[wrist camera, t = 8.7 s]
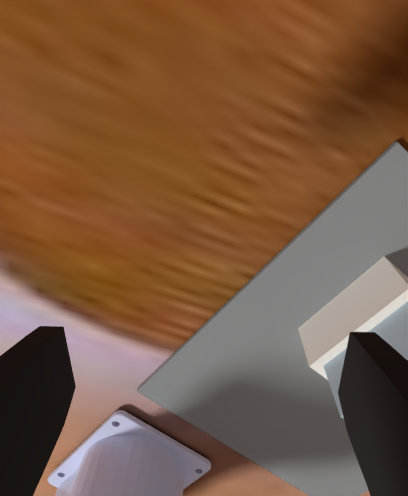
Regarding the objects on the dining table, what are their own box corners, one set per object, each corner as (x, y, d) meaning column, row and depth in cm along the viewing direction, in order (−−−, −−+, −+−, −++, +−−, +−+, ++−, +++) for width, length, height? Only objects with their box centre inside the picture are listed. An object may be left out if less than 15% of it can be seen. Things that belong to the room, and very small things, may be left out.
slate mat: (332, 506, 29) (333, 510, 29) (137, 387, 25) (137, 391, 24) (599, 349, 22) (604, 353, 22) (395, 140, 17) (397, 142, 17)
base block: (368, 381, 23) (388, 423, 21) (297, 328, 22) (309, 366, 19) (455, 320, 21) (490, 358, 18) (383, 255, 20) (410, 287, 17)
